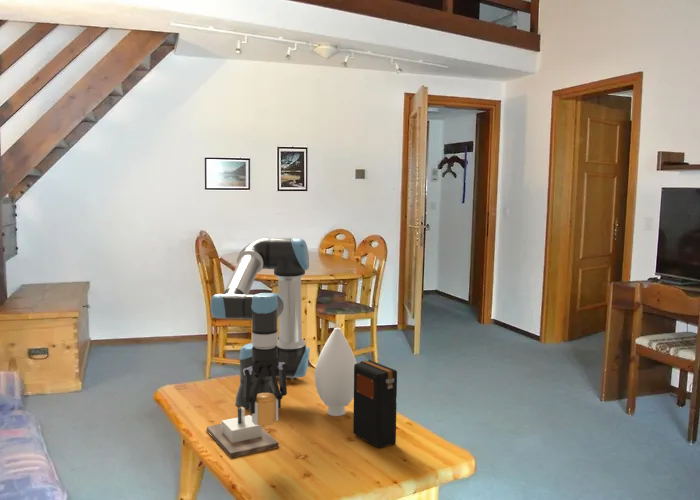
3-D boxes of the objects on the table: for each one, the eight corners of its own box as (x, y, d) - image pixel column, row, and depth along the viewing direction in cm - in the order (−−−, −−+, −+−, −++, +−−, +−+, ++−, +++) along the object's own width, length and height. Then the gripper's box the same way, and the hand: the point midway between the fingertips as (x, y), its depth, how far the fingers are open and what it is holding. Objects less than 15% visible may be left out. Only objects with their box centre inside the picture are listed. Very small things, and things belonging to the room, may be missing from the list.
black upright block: (399, 444, 193) (400, 369, 191) (378, 450, 188) (379, 373, 186) (370, 428, 206) (371, 358, 204) (349, 434, 201) (350, 362, 199)
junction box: (250, 426, 203) (250, 400, 202) (261, 436, 194) (261, 410, 194) (221, 432, 198) (221, 405, 197) (232, 442, 189) (231, 415, 189)
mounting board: (250, 422, 211) (250, 418, 211) (278, 447, 190) (278, 442, 190) (206, 430, 202) (206, 426, 202) (230, 457, 182) (230, 453, 182)
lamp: (309, 408, 225) (309, 317, 221) (347, 403, 231) (348, 314, 228) (324, 423, 210) (324, 326, 207) (364, 417, 216) (366, 322, 213)
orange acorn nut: (270, 416, 182) (270, 391, 182) (277, 423, 178) (277, 397, 177) (252, 420, 180) (252, 394, 179) (259, 427, 175) (259, 400, 174)
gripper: (288, 339, 184) (288, 411, 186) (230, 346, 174) (230, 422, 177) (299, 344, 178) (298, 419, 180) (239, 353, 168) (239, 431, 170)
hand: (265, 420), depth 178 cm, fingers closed on orange acorn nut, 6 cm apart
